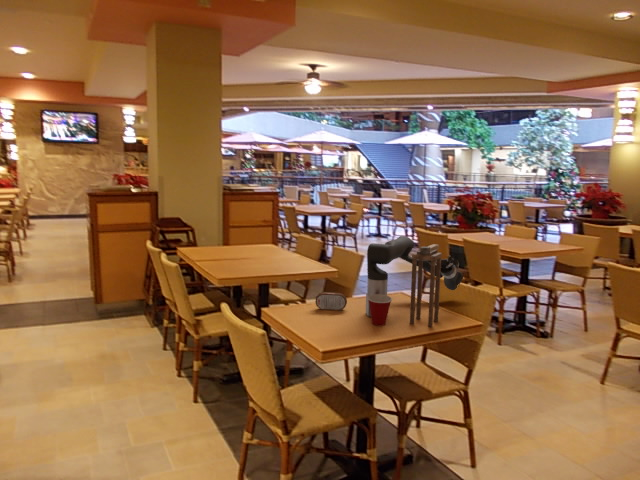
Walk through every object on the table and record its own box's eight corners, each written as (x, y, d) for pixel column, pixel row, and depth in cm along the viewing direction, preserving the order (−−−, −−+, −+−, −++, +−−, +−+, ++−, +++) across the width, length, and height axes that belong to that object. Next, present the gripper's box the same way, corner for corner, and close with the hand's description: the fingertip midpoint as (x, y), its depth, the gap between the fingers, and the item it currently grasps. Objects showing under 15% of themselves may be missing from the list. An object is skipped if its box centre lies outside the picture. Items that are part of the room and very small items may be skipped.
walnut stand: (409, 323, 232) (412, 251, 227) (416, 317, 241) (419, 248, 237) (431, 327, 227) (435, 253, 223) (438, 321, 236) (441, 250, 232)
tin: (346, 309, 253) (347, 292, 252) (346, 311, 250) (346, 294, 249) (315, 308, 255) (315, 291, 254) (314, 310, 252) (315, 292, 251)
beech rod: (420, 254, 226) (420, 247, 226) (432, 249, 242) (432, 242, 242) (427, 255, 225) (427, 248, 225) (439, 249, 241) (439, 242, 240)
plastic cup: (371, 328, 224) (372, 300, 223) (363, 321, 235) (363, 294, 233) (395, 326, 227) (396, 299, 226) (385, 319, 238) (386, 293, 236)
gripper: (434, 260, 267) (427, 248, 253) (463, 263, 260) (456, 250, 247) (431, 274, 264) (424, 262, 251) (460, 277, 258) (453, 265, 244)
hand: (440, 256), depth 249 cm, fingers open, 8 cm apart
